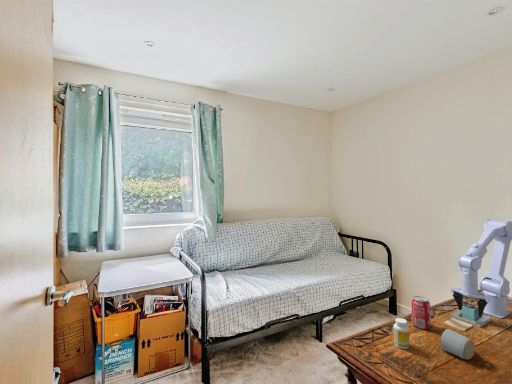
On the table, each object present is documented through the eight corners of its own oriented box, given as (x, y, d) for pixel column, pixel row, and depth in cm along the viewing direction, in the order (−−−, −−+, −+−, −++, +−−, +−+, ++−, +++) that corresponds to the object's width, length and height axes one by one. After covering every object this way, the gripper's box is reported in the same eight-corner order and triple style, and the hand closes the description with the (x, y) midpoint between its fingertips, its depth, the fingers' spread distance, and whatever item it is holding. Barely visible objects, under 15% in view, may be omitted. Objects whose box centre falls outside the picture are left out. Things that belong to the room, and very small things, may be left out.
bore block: (462, 311, 132) (462, 308, 132) (490, 320, 123) (490, 317, 123) (450, 317, 126) (450, 314, 126) (479, 327, 117) (479, 324, 117)
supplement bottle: (390, 343, 107) (390, 319, 106) (399, 340, 109) (399, 315, 109) (403, 350, 102) (402, 325, 102) (412, 346, 104) (412, 321, 104)
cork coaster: (452, 318, 125) (452, 317, 125) (473, 326, 118) (473, 325, 118) (443, 323, 121) (443, 322, 121) (464, 331, 114) (464, 330, 114)
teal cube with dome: (466, 316, 128) (466, 302, 128) (478, 319, 124) (478, 305, 124) (462, 318, 125) (461, 304, 125) (474, 322, 121) (473, 308, 121)
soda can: (425, 322, 123) (425, 295, 122) (434, 330, 116) (433, 302, 115) (409, 321, 123) (408, 295, 123) (416, 329, 116) (416, 301, 116)
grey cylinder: (465, 364, 93) (465, 341, 93) (440, 351, 100) (439, 331, 100) (481, 355, 98) (480, 333, 98) (455, 344, 105) (455, 324, 105)
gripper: (447, 280, 129) (448, 308, 129) (485, 289, 116) (486, 321, 116) (454, 277, 132) (455, 305, 132) (492, 286, 120) (493, 317, 120)
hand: (470, 312), depth 124 cm, fingers open, 7 cm apart
